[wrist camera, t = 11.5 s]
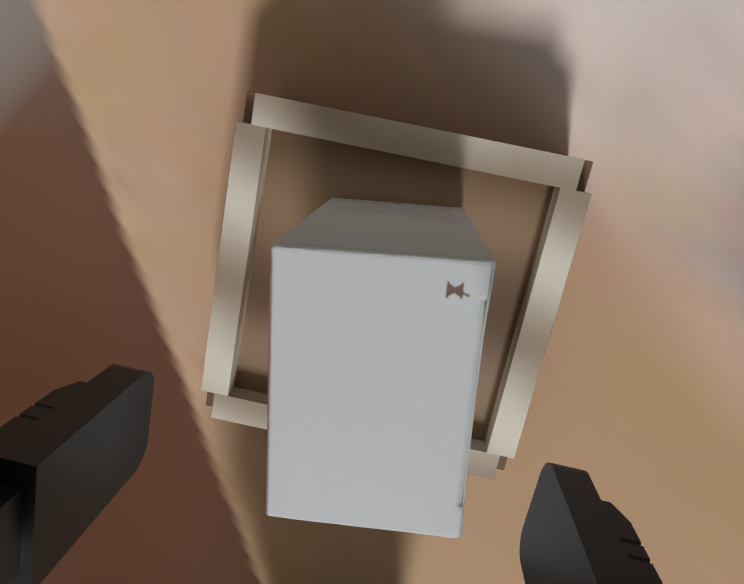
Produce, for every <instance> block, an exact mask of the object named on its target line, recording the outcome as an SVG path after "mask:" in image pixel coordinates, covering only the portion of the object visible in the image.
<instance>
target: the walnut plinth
mask: <svg viewBox="0 0 744 584" xmlns="http://www.w3.org/2000/svg"><path fill="white" fill-rule="evenodd" d="M592 164H593V162H592V161H587V160H585V159H580V158H575V157H570V156H565V155H560V154H555V153H550V152H546V151H541V150H536V149H531V148H526V147H521V146H516V145H511V144H506V143H501V142H496V141H491V140H486V139H482V138H477V137H472V136H467V135H462V134H457V133H452V132H447V131H442V130H437V129H432V128H427V127H422V126H418V125H413V124H408V123H403V122H398V121H393V120H388V119H383V118H378V117H373V116H368V115H363V114H358V113H354V112H349V111H344V110H339V109H334V108H329V107H324V106H319V105H314V104H309V103H304V102H299V101H294V100H290V99H285V98H280V97H275V96H270V95H265V94H260V93H252V92H248V93H247V100H246V108H245V115H244V122H237V121H236V126H235V134H234V141H233V149H232V157H231V164H230V172H229V180H228V188H227V195H226V203H225V211H224V218H223V226H222V234H221V242H220V249H219V257H218V265H217V272H216V280H215V288H214V295H213V303H212V311H211V319H210V326H209V334H208V342H207V349H206V357H205V365H204V373H203V380H202V388H201V390H202V391H207V392H208V393H207V401H206V405H209V406H213V407H212V414H211V418H216V419H221V420H225V421H230V422H234V423H239V424H243V425H248V426H252V427H257V428H262V429H266V430H267V404H268V349H269V284H270V246H271V245H272V244H273V243H274V242H275V241H277V240H278V239H279V238H280V237H282V236H283V235H284V234H286V233H287V232H288V231H289V230H291V229H292V228H293V227H294V226H296V225H297V224H298V223H300V222H301V221H302V220H304V219H305V218H306V217H307V216H309V215H310V214H311V213H313V212H314V211H315V210H316V209H318V208H319V207H320V206H322V205H323V204H324V203H326V202H327V201H328V200H329V199H331V198H344V199H357V200H370V201H382V202H395V203H408V204H421V205H433V206H444V207H461V208H463V209H464V211H465V213H466V214H467V216H468V217H469V219H470V220H471V222H472V224H473V225H474V227H475V229H476V230H477V232H478V234H479V235H480V237H481V239H482V241H483V242H484V244H485V245H486V247H487V249H488V250H489V252H490V254H491V255H492V257H493V258H494V260H495V262H496V269H495V273H494V279H493V285H492V291H491V296H490V302H489V308H488V314H487V320H486V326H485V332H484V339H483V347H482V355H481V363H480V371H479V379H478V387H477V394H476V403H475V411H474V420H473V428H472V437H471V445H470V453H469V461H468V470H467V474H471V475H476V476H480V477H485V478H489V479H494V476H495V472H496V469H501V470H504V467H505V464H506V461H507V457H509V458H514V456H515V453H516V450H517V446H518V443H519V439H520V436H521V433H522V429H523V426H524V422H525V419H526V415H527V412H528V409H529V405H530V402H531V398H532V395H533V392H534V388H535V385H536V381H537V378H538V375H539V371H540V368H541V364H542V361H543V358H544V354H545V351H546V347H547V344H548V340H549V337H550V334H551V330H552V327H553V323H554V320H555V317H556V313H557V310H558V306H559V303H560V300H561V296H562V293H563V289H564V286H565V283H566V279H567V276H568V272H569V269H570V265H571V262H572V259H573V255H574V252H575V248H576V245H577V242H578V238H579V235H580V231H581V228H582V225H583V221H584V218H585V214H586V211H587V208H588V204H589V201H590V197H591V194H589V193H586V192H584V191H585V188H586V185H587V181H588V178H589V174H590V171H591V167H592Z"/></svg>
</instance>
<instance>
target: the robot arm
mask: <svg viewBox="0 0 744 584" xmlns="http://www.w3.org/2000/svg"><path fill="white" fill-rule="evenodd" d="M153 386H154V378H153V374H152V373H151V372H149V371H145V370H141V369H136V368H132V367H127V366H123V365H118V364H112V365H110V366H109V367H107V368H106V369H105V370H103V371H102V372H101V373H99V374H98V375H97V376H95V377H94V378H93V379H91V380H90V381H89V382H87V383H86V382H82V381H79V382H76V383H73V384H70V385H67V386H64V387H61V388H59V389H55V390H53V391H52V392H50V393H49V394H48V395H46V396H45V397H43V398H42V399H40V400H39V401H38V402H36V403H35V406H30V407H29V408H27V409H26V410H25V411H23V412H22V413H20V415H19V417H15V418H13V419H12V420H10V421H9V422H7V423H6V424H5V425H3V426H2V427H0V584H40V583H41V582H42V581H43V579H44V578H45V577H46V576H47V575H48V574H49V573H50V571H51V570H52V569H53V568H54V567H55V565H56V564H57V563H58V562H59V561H60V560H61V558H62V557H63V556H64V555H65V554H66V552H67V551H68V550H69V549H70V548H71V547H72V546H73V544H74V543H75V542H76V541H77V540H78V538H79V537H80V536H81V535H82V534H83V533H84V531H85V530H86V529H87V528H88V527H89V526H90V524H91V523H92V522H93V521H94V520H95V518H96V517H97V516H98V515H99V514H100V513H101V511H102V510H103V509H104V508H105V507H106V506H107V504H108V503H109V502H110V501H111V500H112V498H113V497H114V496H115V495H116V494H117V493H118V491H119V490H120V489H121V488H122V487H123V485H124V484H125V483H126V482H127V481H128V480H129V478H130V477H131V476H132V475H133V474H134V473H135V471H136V470H137V468H138V467H139V465H140V463H141V461H142V458H143V456H144V453H145V450H146V446H147V441H148V433H149V424H150V414H151V405H152V396H153V395H152V394H153ZM520 562H521V567H522V571H523V575H524V580H525V584H663V583H662V581H661V579H660V577H659V575H658V573H657V572H656V570H655V568H654V566H653V564H650V558H649V556H648V555H647V553H646V551H645V549H644V547H643V546H641V541H640V539H639V538H638V536H637V534H636V532H635V530H634V528H633V526H632V524H631V522H630V521H629V520H628V519H627V518H626V517H625V516H624V515H623V514H622V513H621V512H620V511H619V510H618V509H617V508H616V507H615V506H614V505H613V504H612V503H611V502H606V501H602V500H601V499H600V497H599V495H598V493H597V491H596V489H595V487H594V485H593V482H592V480H591V478H590V476H589V474H588V473H587V472H586V471H584V470H580V469H576V468H571V467H567V466H562V465H558V464H553V463H546V464H545V465H544V467H543V468H542V471H541V473H540V476H539V479H538V482H537V485H536V488H535V492H534V495H533V498H532V501H531V504H530V507H529V510H528V513H527V516H526V519H525V522H524V526H523V529H522V533H521V540H520Z"/></svg>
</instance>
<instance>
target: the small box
mask: <svg viewBox="0 0 744 584" xmlns="http://www.w3.org/2000/svg"><path fill="white" fill-rule="evenodd" d="M495 269H496V262H495V260H494V258H493V257H492V255H491V254H490V252H489V250H488V249H487V247H486V245H485V244H484V242H483V241H482V239H481V237H480V235H479V234H478V232H477V230H476V229H475V227H474V225H473V224H472V222H471V220H470V219H469V217H468V216H467V214H466V213H465V211H464V209H463V208H461V207H444V206H433V205H421V204H408V203H395V202H382V201H370V200H357V199H344V198H331V199H329V200H328V201H327V202H326V203H324V204H323V205H322V206H320V207H319V208H318V209H316V210H315V211H314V212H313V213H311V214H310V215H309V216H307V217H306V218H305V219H304V220H302V221H301V222H300V223H298V224H297V225H296V226H294V227H293V228H292V229H291V230H289V231H288V232H287V233H286V234H284V235H283V236H282V237H280V238H279V239H278V240H277V241H275V242H274V243H273V244H272V245H271V246H270V284H269V349H268V404H267V459H266V508H265V514H267V515H268V516H275V517H283V518H289V519H296V520H305V521H313V522H322V523H331V524H340V525H348V526H357V527H366V528H374V529H383V530H392V531H401V532H410V533H418V534H427V535H435V536H442V537H450V538H458V537H460V536H461V535H462V532H463V520H464V503H465V490H466V480H467V470H468V461H469V453H470V445H471V437H472V428H473V420H474V411H475V403H476V394H477V387H478V379H479V371H480V363H481V355H482V347H483V339H484V332H485V326H486V320H487V314H488V308H489V302H490V296H491V291H492V285H493V279H494V273H495Z"/></svg>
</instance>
